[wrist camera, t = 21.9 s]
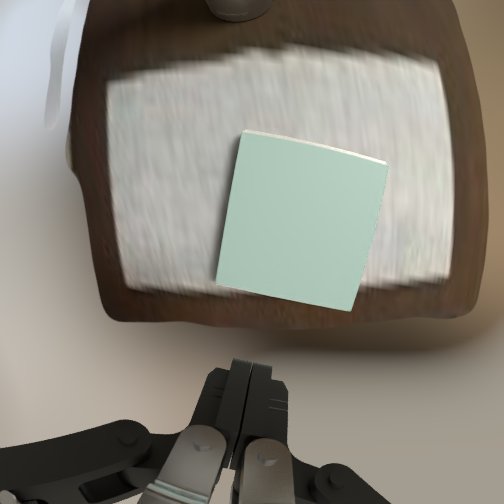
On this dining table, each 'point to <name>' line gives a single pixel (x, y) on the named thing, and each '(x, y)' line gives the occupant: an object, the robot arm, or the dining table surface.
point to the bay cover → (299, 221)
